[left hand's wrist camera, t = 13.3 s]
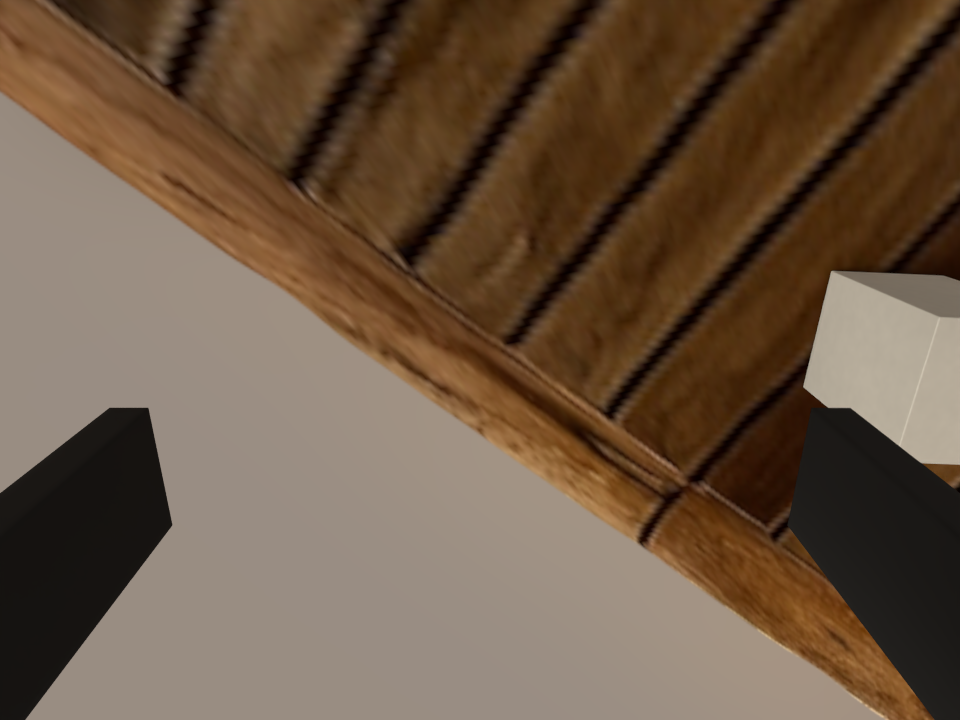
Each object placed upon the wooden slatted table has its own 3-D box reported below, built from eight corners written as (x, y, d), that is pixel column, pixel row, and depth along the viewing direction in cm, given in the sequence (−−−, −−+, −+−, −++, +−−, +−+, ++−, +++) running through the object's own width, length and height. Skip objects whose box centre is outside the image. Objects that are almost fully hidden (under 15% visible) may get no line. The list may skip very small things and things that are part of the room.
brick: (831, 270, 41) (939, 317, 31) (943, 275, 41) (1086, 323, 31) (802, 387, 44) (894, 462, 34) (908, 391, 44) (1029, 467, 34)
